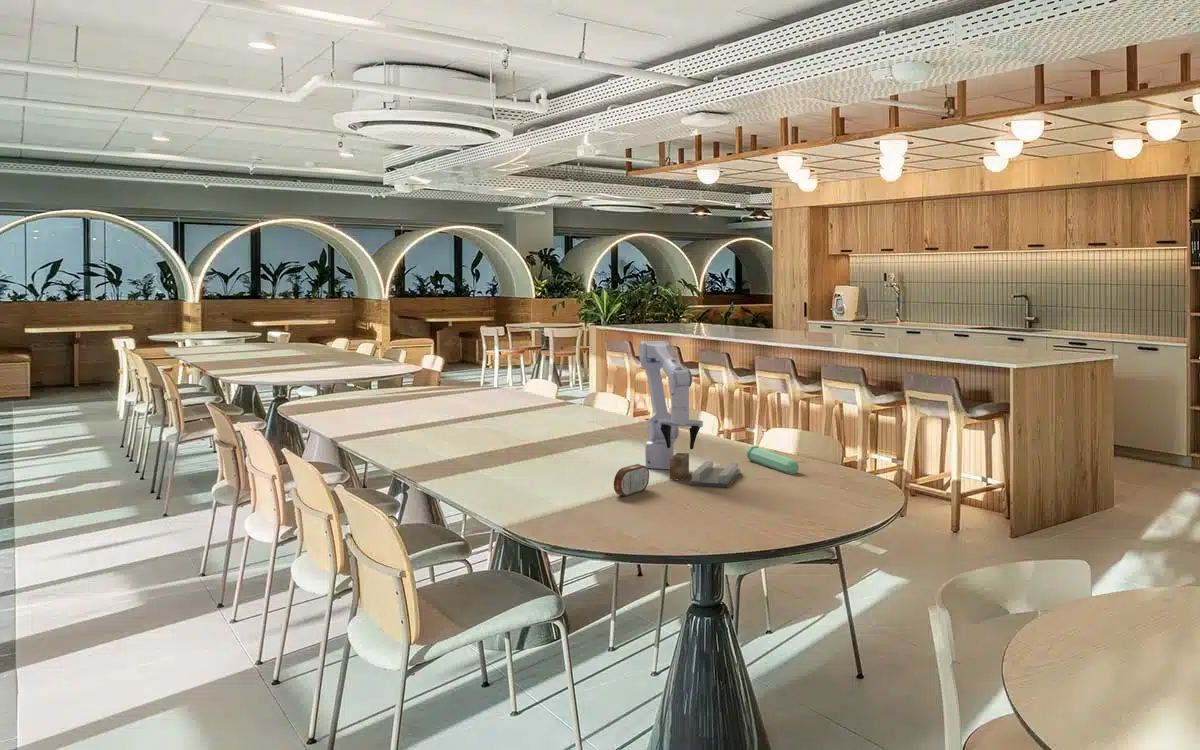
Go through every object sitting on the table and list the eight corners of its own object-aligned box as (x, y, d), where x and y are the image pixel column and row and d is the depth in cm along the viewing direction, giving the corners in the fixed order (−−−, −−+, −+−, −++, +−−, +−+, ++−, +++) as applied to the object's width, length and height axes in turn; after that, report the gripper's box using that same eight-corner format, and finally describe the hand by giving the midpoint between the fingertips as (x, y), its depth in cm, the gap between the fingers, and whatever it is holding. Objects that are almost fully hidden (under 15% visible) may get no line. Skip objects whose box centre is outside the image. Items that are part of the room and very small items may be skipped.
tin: (643, 488, 277) (642, 461, 276) (651, 489, 275) (651, 462, 274) (612, 497, 266) (612, 469, 265) (621, 499, 264) (620, 471, 263)
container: (799, 456, 293) (757, 442, 316) (785, 464, 292) (744, 450, 314) (804, 472, 295) (762, 457, 318) (790, 480, 293) (749, 464, 316)
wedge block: (669, 479, 288) (669, 458, 288) (677, 473, 298) (677, 452, 297) (681, 480, 287) (681, 459, 286) (688, 474, 296) (689, 453, 296)
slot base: (689, 485, 280) (689, 473, 280) (704, 470, 301) (704, 460, 300) (727, 487, 276) (727, 476, 276) (740, 472, 297) (740, 462, 296)
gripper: (655, 407, 288) (655, 449, 290) (699, 409, 284) (699, 451, 285) (660, 404, 295) (661, 445, 297) (704, 406, 291) (704, 447, 292)
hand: (680, 448), depth 291 cm, fingers open, 7 cm apart
